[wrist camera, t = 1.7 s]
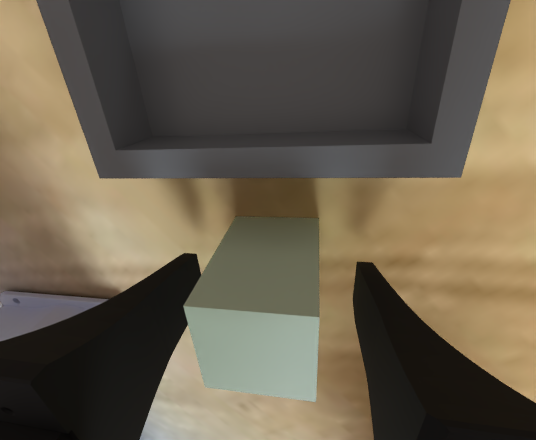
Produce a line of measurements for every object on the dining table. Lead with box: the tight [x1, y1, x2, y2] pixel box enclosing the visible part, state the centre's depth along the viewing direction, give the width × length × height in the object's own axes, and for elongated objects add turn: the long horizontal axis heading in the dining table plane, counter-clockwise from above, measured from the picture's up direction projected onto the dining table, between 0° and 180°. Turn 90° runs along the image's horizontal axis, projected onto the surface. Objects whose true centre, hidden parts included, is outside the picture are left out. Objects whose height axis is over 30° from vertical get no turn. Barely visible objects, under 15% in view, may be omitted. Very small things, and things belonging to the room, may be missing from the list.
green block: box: [183, 216, 319, 402], centre depth 11 cm, size 4×4×6 cm
